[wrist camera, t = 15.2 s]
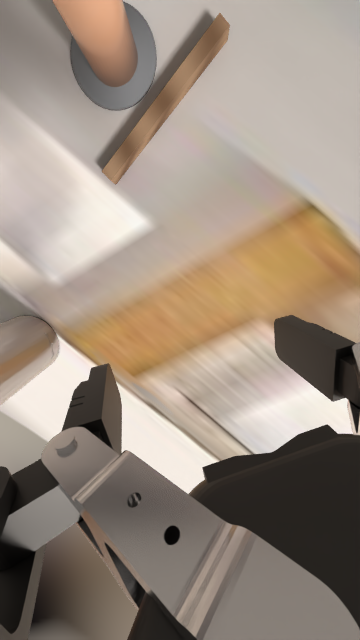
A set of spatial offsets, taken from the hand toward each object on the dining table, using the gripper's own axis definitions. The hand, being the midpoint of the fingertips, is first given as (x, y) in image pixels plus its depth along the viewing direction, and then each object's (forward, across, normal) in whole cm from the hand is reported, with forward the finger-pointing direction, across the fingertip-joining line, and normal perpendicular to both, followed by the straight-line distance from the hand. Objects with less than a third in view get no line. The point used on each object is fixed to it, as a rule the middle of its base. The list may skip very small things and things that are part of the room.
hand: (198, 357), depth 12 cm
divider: (+26, -6, -18) cm, 33 cm away
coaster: (+28, -2, -25) cm, 38 cm away
